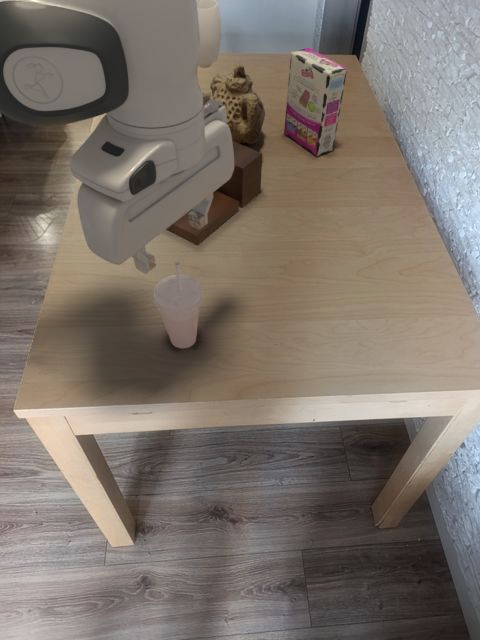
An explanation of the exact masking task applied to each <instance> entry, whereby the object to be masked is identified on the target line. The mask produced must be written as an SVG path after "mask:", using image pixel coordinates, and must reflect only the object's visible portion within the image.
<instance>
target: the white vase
mask: <svg viewBox="0 0 480 640" xmlns="http://www.w3.org/2000/svg"><path fill="white" fill-rule="evenodd" d="M196 2H197V11H198V22H199V35H200V58H199V63H198V68H201V69H207V68H210V67H212V65H214V63H216V62H217V61H218V58H219V54H220V50H221V43H222V24H221V22H222V21H221V16H220V14H221V13H220V8H219V3H218V1H217V0H196Z"/></svg>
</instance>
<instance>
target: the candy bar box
mask: <svg viewBox="0 0 480 640" xmlns="http://www.w3.org/2000/svg"><path fill="white" fill-rule="evenodd" d="M289 62H290V63H289V75H288V85H287V96H286V107H285V108H286V109H285V116H284V117H285V119H284V129H283V134H284V135H285V136H286V137H288V138H290V139H291V140H292V141H294V142H295V143H297V144H298V145H299V146H301V147H302V148H304V149H306V151H308V152H310V153H311V154H312V155H314V156H316V157H319V156H322V155H325V154H328V153H331V152H332V151H334V147H335V141H336V136H337V130H338V125H339V118H340V113H341V107H342V101H343V96H344V90H345V83H346V79H347V73H348V68H347V67H345V66H344V65H342V64H340V63H338V62H336V61H334V60H332V59H331V58H329V57H327V56H325V55H323V54H322V53H320V52H318V51H316V50H314V49H313V48H310V47H306V48H302V49H299V50H296V51H291V53H290V61H289Z"/></svg>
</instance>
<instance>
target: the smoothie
mask: <svg viewBox="0 0 480 640" xmlns="http://www.w3.org/2000/svg"><path fill="white" fill-rule="evenodd" d="M174 267H175V274H171V275H169V276H165V277H164V278H162V279H160V280H158V282H157V283H156V284H155V286H154V287H153V291H152V295H153V297H152V298H153V299H152V300H153V302H154V305H155V306H156V307H157V309H158V310H159V313H160V315H161V318H162V320H163V321H162V322H163V324H164V327H165V329H166V332H167V335H168V337H169V340H170V342H171V344H172V345H173V346H174V347H175V348H177V349H187V348H190V347H192V346H193V345H195V344H196V341H197V338H198V337H197V335H198V326H199V318H200V317H199V316H200V307H201V306H200V305H201V303H202V302H203V298H204V296H203V295H204V293H203V287H202V285H201V283H200V282H199V281H198V280H197V279H196V278H194V277H192V276H189V275H186V274H182V273H181V264H180V262H179V261H176V262H175V263H174Z"/></svg>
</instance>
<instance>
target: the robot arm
mask: <svg viewBox="0 0 480 640" xmlns="http://www.w3.org/2000/svg"><path fill="white" fill-rule="evenodd" d="M199 58H200V35H199V22H198V11H197V2H196V0H0V113H1V114H2V115H4V116H6V117H7V118H9V119H11V120H13V121H16V122H17V123H20V124H23V125H27V126H30V127H36V128H56V127H61V126H66V125H70V124H74V123H78V122H82V121H86V120H89V119H93V118H96V117H99V116H102V115H104V116H103V117H102V118H101V119H100V121H99V123H98V124H97V126H96V127H95V128H94V130H92V132H91V134H90V135H89V136H88V137H87V138H86V140H85V141H84V142H83V143H82V144H81V146H79V148H78V149H77V150H76V151H74V153H72V155H71V157H70V159H69V169H70V172H71V175H72V177H74V178H75V179H76V180H78V181H79V182H81V184H80V185H79V189H78V192H77V197H76V200H77V201H76V202H77V210H78V215H79V220H80V224H81V228H82V232H83V236H84V240H85V243H86V245H87V247H88V249H89V250H90V252H92V253H93V254H94V255H95V256H97V257H98V258H100V259H102V260H104V261H106V262H108V263H111V264H113V265H118V266H120V265H122V264H124V263H125V262H126V261H127V260H129V259H130V258H133V262H134V266H135V269H137V270H138V271H139V272H141V273H143V274H145V275H147V274H149V272H151V271H152V270H153V269H154V268H155V267H156V266H157V265H156V263H155V262H156V258H155V256H154V254H151V253H148V252H147V251H146V246H147V245H148V244H149V243H151V242H152V241H153V240H154V239H155V238H157V237H158V236H159V235H160V234H162V233H163V232H164V231H166V230H167V228H168V227H170V226H171V225H172V224H173V223H175V222H176V221H177V220H178V219H180V218H181V217H182V216H184V215H185V214H186V213H187V212H189V211H190V210H191V209H192V211H191V212H189V213H188V216H189V224H190V225H191V226H192V227H196V229H198V230H200V229H201V228H202V227H204V226H205V225H206V224H207V223H208V215H207V213H208V211H209V208H210V205H211V202H212V200H213V192H214V191H216V190H217V189H218V188H219V187H221V186H222V185H223V184H224V183H226V182H227V181H228V180H230V178H231V176H232V174H233V171H234V151H233V142H232V136H231V131H230V128H229V126H228V125H227V112H226V107H225V106H224V105H223V104H222V103H221V102H219V101H217V100H215V99H213V100H210V101H209V100H208V101H206V102H205V103H204V96H203V93H202V89H201V86H200V83H199V79H198V78H199V77H198V68H199V66H198V63H199Z"/></svg>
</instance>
